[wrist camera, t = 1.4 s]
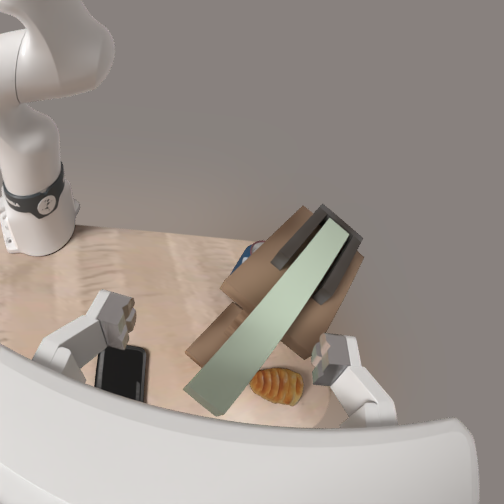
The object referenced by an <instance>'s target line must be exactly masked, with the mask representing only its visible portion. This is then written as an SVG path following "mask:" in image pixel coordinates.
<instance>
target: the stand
mask: <svg viewBox="0 0 504 504" xmlns="http://www.w3.org/2000/svg"><path fill="white" fill-rule="evenodd" d="M329 218H331V219H332V220H333V221H334V222H335V223H337V224H338V225H339V226H340V227H341V228H343V229H344V230H345V231H346V232H347V233H348V234H349V236H348V238H347V239H346V241H345V243H344V244H343V246H342V248H341V249H340V251H339V252H338V254H337V256H336V257H335V259H334V261H333V262H332V264H331V265H330V267H329V269H328V270H327V272H326V273H325V275H324V276H323V278H322V279H321V281H320V283H319V284H318V286H317V287H316V289H315V290H314V292H313V293H312V295H311V296H310V298H309V299H308V301H307V302H306V304H305V305H304V307H303V308H302V310H301V311H300V313H299V314H298V316H297V317H296V319H295V320H294V322H293V323H292V324H291V326H290V327H289V329H288V330H287V332H286V333H285V334H284V336H283V337H282V339H281V340H280V341H282V342H283V343H284V344H285V345H286V346H288V347H289V348H290V349H291V350H293V351H294V352H295V353H296V354H297V355H299V356H300V357H301V358H302V359H304V360H305V359H307V358H308V357H310V356H312V351H313V348H314V346H315V344H316V343H318V342H320V339H319V338H320V336H321V334H323V333H326V331H327V329H328V328H329V326H330V324H331V322H332V320H333V318H334V317H335V315H336V313H337V311H338V309H339V307H340V305H341V303H342V301H343V300H344V297H345V296H346V294H347V292H348V289H349V288H350V286H351V284H352V282H353V280H354V277H355V275H356V273H357V271H358V269H359V267H360V265H361V263H362V261H363V258H364V257H363V256H362V255H361V254H360V253H359V252H358V251H357V249H358V247H359V245H360V243H361V241H362V240H363V238H362V237H361V236H360V235H359V234H358V233H357V232H356V231H354V230H353V229H352V228H351V227H350V226H348V225H347V224H346V223H345V222H344V221H343V220H342V219H340V218H339V217H338V216H337V215H335V214H334V213H333V212H332V211H331V210H330V209H328V208H327V207H326V206H325V205H323V204H322V205H321V206H320V207H319V208H318V210H316V211H315V213H314V214H313V213H312V212H311V211H309V210H308V209H307V208H306V207H304V206H302V207H301V208H300V209H299V210H298V211H297V212H296V213H295V214H294V215H293V216H292V217H291V218H289V219H288V220H287V221H286V222H285V223H284V224H283V225H282V226H281V227H280V228H279V229H278V230H277V231H276V232H275V233H274V234H273V235H272V236H271V237H269V238H268V239H267V240H266V241H265V242H264V243H263V244H262V245H261V246H260V247H259V248H258V249H257V250H256V251H255V252H254V253H253V254H252V255H251V256H250V257H248V258H247V259H246V260H245V261H244V262H243V263H242V264H241V265H240V266H239V267H238V268H237V269H236V270H235V271H234V272H233V273H232V274H231V275H230V276H229V277H228V278H226V279H225V280H224V282H223V284H222V285H221V287H220V289H221V290H222V291H223V292H224V293H225V294H226V295H227V296H229V297H230V298H231V299H232V300H233V301H234V302H235V303H237V304H238V305H239V306H240V307H241V308H242V309H243V310H242V309H241V308H240V307H238V306H237V305H236V304H235V303H234V302H232V303H231V304H230V305H229V306H228V307H227V308H226V309H225V310H224V311H223V312H222V314H221V315H220V316H219V317H218V318H217V319H216V320H215V321H214V322H213V323H212V324H211V325H210V326H209V327H208V328H207V329H206V330H205V331H204V332H203V333H202V334H201V335H200V336H199V337H198V338H197V339H196V341H195V342H194V343H193V344H192V345H191V346H190V347H189V348H188V349H187V350H186V351H185V354H187V355H188V356H189V357H190V358H191V359H192V360H193V361H194V362H196V363H197V364H198V365H199V366H200V367H201V368H203V367H204V366H205V365H206V363H207V362H208V361H209V360H210V359H211V358H212V357H213V356H214V354H215V353H216V352H217V351H218V350H219V349H220V348H221V347H222V346H223V344H224V343H225V342H226V341H227V340H228V339H229V338H230V336H231V335H232V334H233V333H234V332H235V331H236V330H237V328H238V327H239V326H240V325H241V324H242V323H243V322H244V320H245V319H246V318H247V317H248V316H249V315H250V313H251V312H252V311H253V310H254V309H255V308H256V306H257V305H258V304H259V303H260V302H261V301H262V299H263V298H264V297H265V296H266V295H267V293H268V292H269V291H270V290H271V289H272V288H273V286H274V285H275V284H276V283H277V282H278V280H279V279H280V278H281V277H282V276H283V274H284V273H285V272H286V271H287V270H288V268H289V267H290V266H291V265H292V264H293V262H294V261H295V260H296V259H297V257H298V256H299V255H300V254H301V253H302V251H303V250H304V249H305V248H306V246H307V245H308V244H309V243H310V241H311V240H312V239H313V238H314V236H315V235H316V234H317V233H318V231H319V230H320V229H321V228H322V226H323V225H324V224H325V223H326V222H327V220H328V219H329Z"/></svg>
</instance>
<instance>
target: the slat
mask: <svg viewBox="0 0 504 504" xmlns="http://www.w3.org/2000/svg"><path fill="white" fill-rule="evenodd" d="M348 236H349V234H348V233H347V232H346V231H345V230H344V229H343V228H341V227H340V226H339V225H338V224H337V223H335V222H334V221H333V220H332V219H331V218H329V219H328V220H327V222H326V223H325V224H324V225H323V226H322V228H321V229H320V230H319V231H318V233H317V234H316V235H315V236H314V238H313V239H312V240H311V241H310V243H309V244H308V245H307V246H306V248H305V249H304V250H303V251H302V253H301V254H300V255H299V256H298V257H297V259H296V260H295V261H294V262H293V264H292V265H291V266H290V267H289V268H288V270H287V271H286V272H285V273H284V274H283V276H282V277H281V278H280V279H279V280H278V282H277V283H276V284H275V285H274V286H273V288H272V289H271V290H270V291H269V292H268V293H267V295H266V296H265V297H264V298H263V299H262V301H261V302H260V303H259V304H258V305H257V306H256V308H255V309H254V310H253V311H252V312H251V313H250V315H249V316H248V317H247V318H246V319H245V320H244V322H243V323H242V324H241V325H240V326H239V327H238V328H237V330H236V331H235V332H234V333H233V334H232V335H231V336H230V338H229V339H228V340H227V341H226V342H225V343H224V344H223V346H222V347H221V348H220V349H219V350H218V351H217V352H216V353H215V354H214V356H213V357H212V358H211V359H210V360H209V361H208V362H207V363H206V365H205V366H204V367H203V368H202V369H201V370H200V371H199V372H198V373H197V374H196V376H195V377H194V378H193V379H192V380H191V381H190V382H189V383H188V384H187V385H186V386H185V387H184V389H183V390H184V391H185V392H186V393H188V394H189V395H190V396H191V397H192V398H194V399H195V400H196V401H197V402H198V403H200V404H201V405H202V406H203V407H204V408H206V409H207V410H208V411H210V412H211V413H212V414H213V415H215V416H220V415H224V414H225V413H226V411H227V410H228V409H229V408H230V406H231V405H232V404H233V403H234V401H235V400H236V399H237V398H238V396H239V395H240V394H241V392H242V391H243V390H244V389H245V387H246V386H247V385H248V383H249V382H250V381H251V380H252V378H253V377H254V376H255V374H256V373H257V372H258V370H259V369H260V368H261V366H262V365H263V364H264V362H265V361H266V359H267V358H268V357H269V355H270V354H271V353H272V351H273V350H274V348H275V347H276V346H277V344H278V343H279V342H280V340H281V339H282V337H283V336H284V334H285V333H286V332H287V330H288V329H289V327H290V326H291V324H292V323H293V322H294V320H295V319H296V317H297V316H298V314H299V313H300V311H301V310H302V308H303V307H304V305H305V304H306V302H307V301H308V299H309V298H310V296H311V295H312V293H313V292H314V290H315V289H316V287H317V286H318V284H319V283H320V281H321V279H322V278H323V276H324V275H325V273H326V272H327V270H328V269H329V267H330V265H331V264H332V262H333V261H334V259H335V257H336V256H337V254H338V252H339V251H340V249H341V248H342V246H343V244H344V243H345V241H346V239H347V238H348Z"/></svg>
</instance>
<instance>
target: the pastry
mask: <svg viewBox="0 0 504 504" xmlns="http://www.w3.org/2000/svg"><path fill="white" fill-rule="evenodd" d="M249 384H250V387H251V389H252V390H253V392H254V393H255V394H257V395H259V396H261V397H262V398H264V399H266V400H267V401H271V402H272V403H275V404H277V403H280V404H284V405H290V406H294V405H296V404H297V402H298V401H299V399H300V397H301V395H302V392H303V386H304V384H303V379H302V377H301V375H300V374H298V373H295V372H293V371H291V370H289V369H282V368H271V369H266V370H258V372H257V373H256V374H255V376H254V377H253V378H252V380H251V381H250V382H249Z"/></svg>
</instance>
